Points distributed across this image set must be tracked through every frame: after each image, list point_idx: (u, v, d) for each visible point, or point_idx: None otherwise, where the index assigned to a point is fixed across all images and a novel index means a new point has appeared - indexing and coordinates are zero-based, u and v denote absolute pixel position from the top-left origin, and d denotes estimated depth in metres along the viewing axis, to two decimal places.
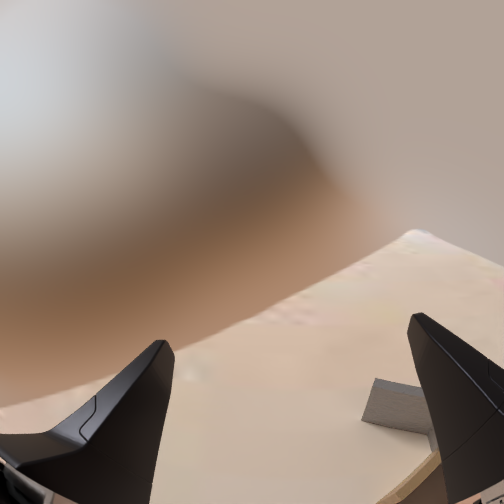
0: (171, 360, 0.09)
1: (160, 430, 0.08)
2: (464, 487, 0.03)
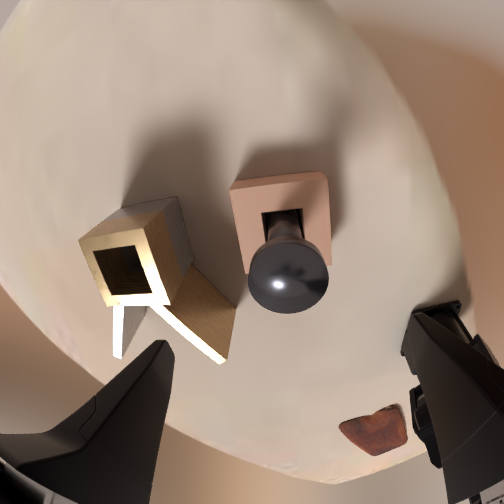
0: (171, 360, 0.09)
1: (160, 430, 0.08)
2: (465, 487, 0.03)
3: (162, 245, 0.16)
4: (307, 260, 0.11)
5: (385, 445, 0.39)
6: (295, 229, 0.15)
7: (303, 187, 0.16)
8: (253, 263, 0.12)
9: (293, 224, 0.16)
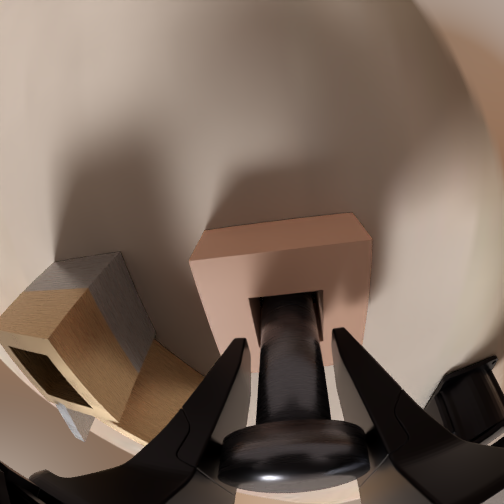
0: (249, 359, 0.09)
1: None
2: None
3: (92, 347, 0.09)
4: (336, 467, 0.04)
5: None
6: (311, 344, 0.08)
7: (327, 256, 0.08)
8: (225, 470, 0.04)
9: (307, 327, 0.08)
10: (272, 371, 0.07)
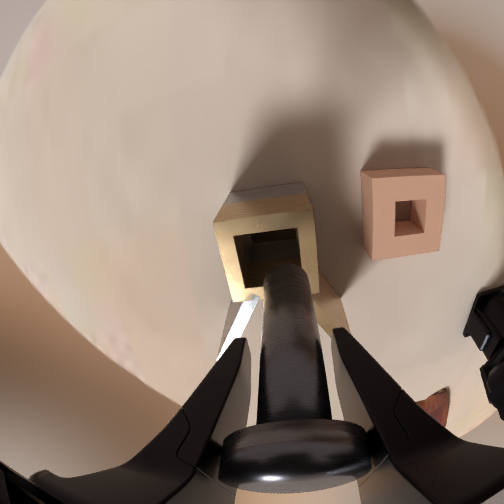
0: (249, 359, 0.09)
1: None
2: None
3: None
4: (337, 468, 0.04)
5: None
6: (311, 343, 0.08)
7: (429, 181, 0.15)
8: (225, 470, 0.04)
9: (308, 327, 0.08)
10: (273, 371, 0.07)
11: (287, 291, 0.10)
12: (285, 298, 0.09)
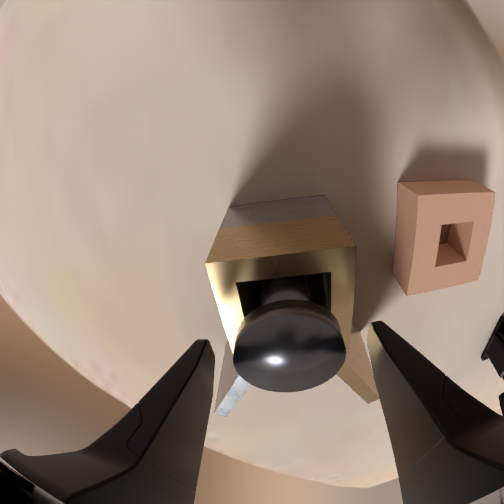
0: (212, 360, 0.09)
1: (203, 435, 0.07)
2: None
3: None
4: (318, 337, 0.07)
5: None
6: None
7: (478, 199, 0.11)
8: (239, 342, 0.08)
9: None
10: (271, 287, 0.10)
11: None
12: None
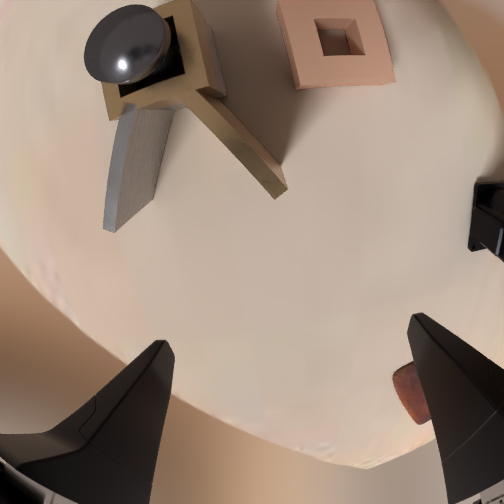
0: (171, 360, 0.09)
1: (160, 430, 0.08)
2: (464, 487, 0.03)
3: (202, 33, 0.10)
4: (137, 13, 0.06)
5: None
6: None
7: (352, 2, 0.10)
8: None
9: None
10: None
11: None
12: None
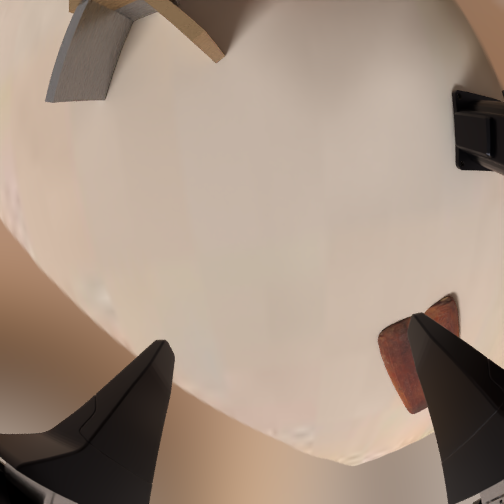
0: (171, 360, 0.09)
1: (160, 430, 0.08)
2: (465, 487, 0.03)
3: None
4: None
5: None
6: None
7: None
8: None
9: None
10: None
11: None
12: None
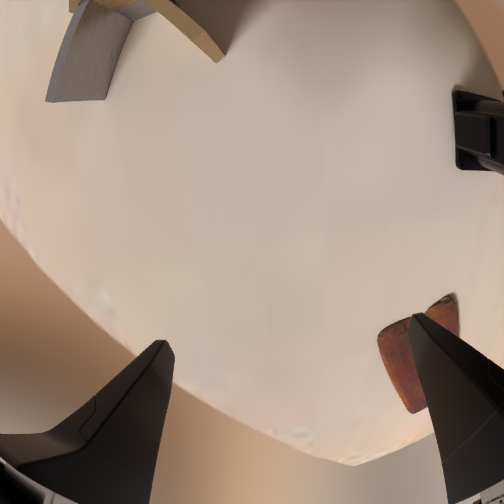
0: (171, 360, 0.09)
1: (160, 430, 0.08)
2: (465, 487, 0.03)
3: None
4: None
5: None
6: None
7: None
8: None
9: None
10: None
11: None
12: None
